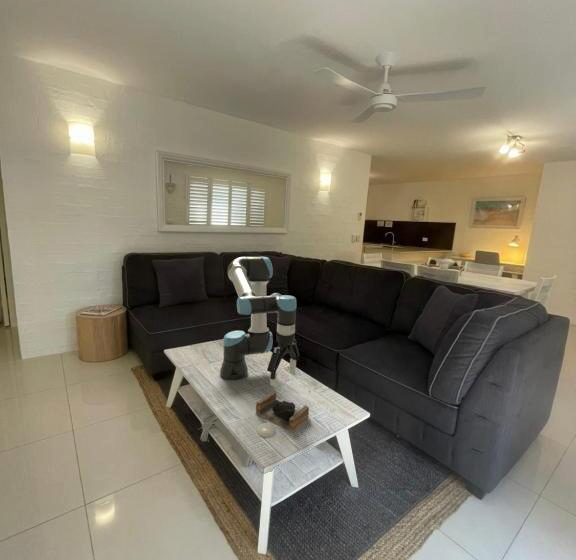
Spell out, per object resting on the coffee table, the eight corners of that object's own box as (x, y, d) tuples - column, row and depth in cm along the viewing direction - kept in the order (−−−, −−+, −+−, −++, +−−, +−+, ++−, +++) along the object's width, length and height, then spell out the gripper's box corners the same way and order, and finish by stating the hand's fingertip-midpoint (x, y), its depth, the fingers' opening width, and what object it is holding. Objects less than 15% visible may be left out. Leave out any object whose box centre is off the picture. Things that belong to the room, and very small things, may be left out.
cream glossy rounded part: (252, 432, 125) (252, 430, 125) (264, 422, 131) (264, 420, 131) (268, 440, 121) (268, 439, 121) (279, 429, 127) (279, 428, 127)
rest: (255, 412, 137) (256, 402, 136) (272, 400, 147) (273, 390, 146) (292, 432, 126) (293, 420, 125) (308, 417, 135) (308, 407, 134)
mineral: (270, 420, 130) (270, 408, 129) (272, 408, 139) (273, 396, 138) (294, 422, 129) (295, 410, 128) (295, 409, 138) (295, 398, 137)
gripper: (274, 344, 117) (272, 394, 121) (309, 327, 137) (306, 370, 141) (259, 338, 121) (257, 387, 125) (295, 323, 141) (292, 365, 145)
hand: (283, 378), depth 133 cm, fingers open, 13 cm apart
